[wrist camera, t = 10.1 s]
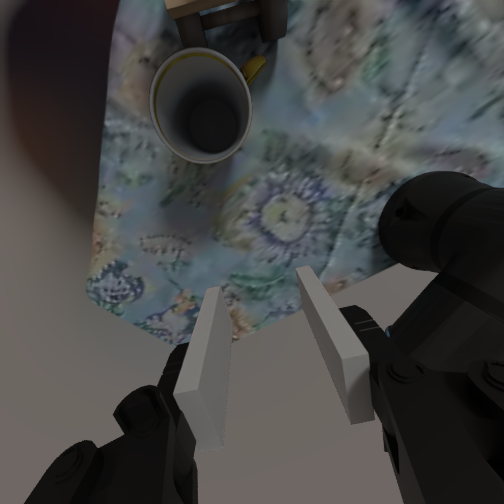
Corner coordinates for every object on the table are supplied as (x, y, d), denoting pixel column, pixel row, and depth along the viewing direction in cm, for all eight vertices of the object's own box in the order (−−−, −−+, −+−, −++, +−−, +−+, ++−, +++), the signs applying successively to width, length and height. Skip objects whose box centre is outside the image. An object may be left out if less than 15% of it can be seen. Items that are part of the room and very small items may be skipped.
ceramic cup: (209, 180, 35) (196, 184, 25) (161, 119, 32) (126, 97, 22) (281, 120, 32) (297, 99, 23) (236, 48, 30) (232, -9, 20)
